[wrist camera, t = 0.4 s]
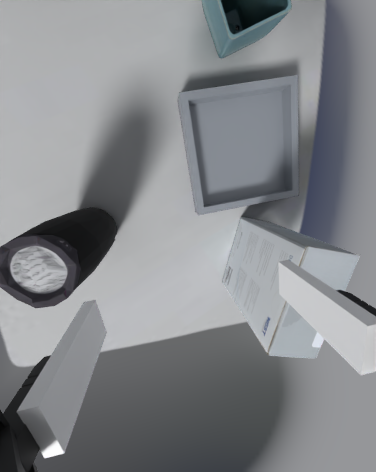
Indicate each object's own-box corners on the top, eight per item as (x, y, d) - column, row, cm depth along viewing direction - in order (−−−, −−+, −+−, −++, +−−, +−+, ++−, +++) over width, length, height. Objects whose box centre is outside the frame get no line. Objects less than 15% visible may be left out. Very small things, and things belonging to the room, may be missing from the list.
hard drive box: (252, 286, 46) (315, 361, 27) (221, 282, 45) (264, 358, 26) (273, 221, 43) (363, 256, 24) (239, 214, 41) (306, 246, 22)
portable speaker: (61, 229, 38) (-39, 278, 19) (95, 194, 37) (25, 209, 18) (97, 258, 40) (41, 328, 21) (130, 226, 39) (101, 270, 20)
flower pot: (191, 13, 31) (202, -49, 23) (242, -12, 31) (272, -85, 23) (212, 75, 34) (230, 40, 25) (260, 52, 34) (293, 9, 25)
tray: (177, 100, 34) (179, 92, 31) (285, 84, 36) (297, 74, 32) (195, 212, 40) (198, 215, 37) (287, 194, 41) (298, 195, 38)
